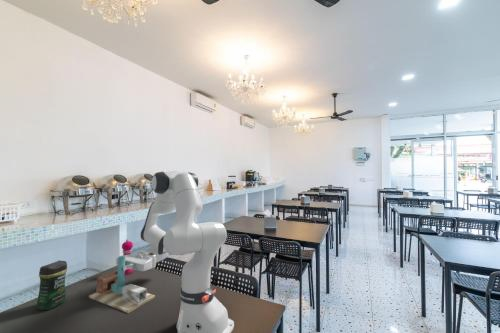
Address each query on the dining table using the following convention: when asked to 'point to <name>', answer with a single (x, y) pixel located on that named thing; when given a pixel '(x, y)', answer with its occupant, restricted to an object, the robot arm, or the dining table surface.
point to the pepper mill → (127, 252)
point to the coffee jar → (52, 285)
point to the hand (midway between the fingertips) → (119, 267)
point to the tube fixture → (120, 301)
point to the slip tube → (120, 277)
